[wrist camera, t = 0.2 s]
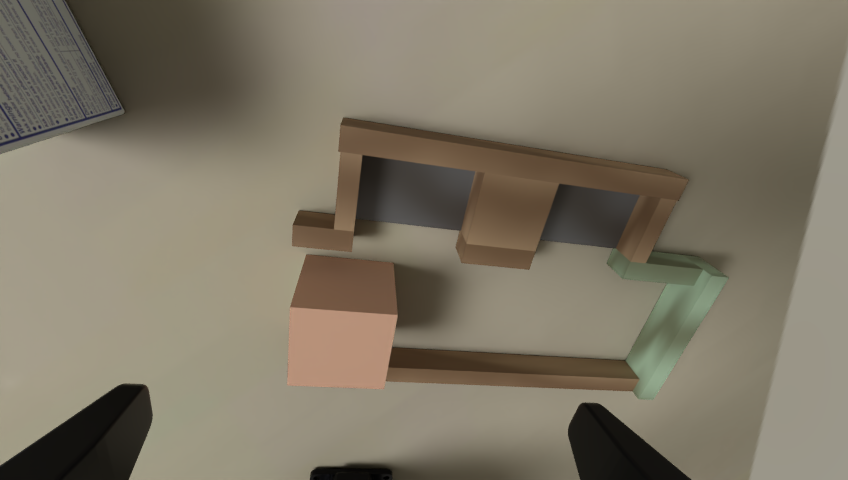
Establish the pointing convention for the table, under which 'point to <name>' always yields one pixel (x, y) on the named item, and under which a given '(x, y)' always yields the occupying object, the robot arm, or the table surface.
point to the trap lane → (521, 240)
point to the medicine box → (47, 75)
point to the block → (342, 323)
